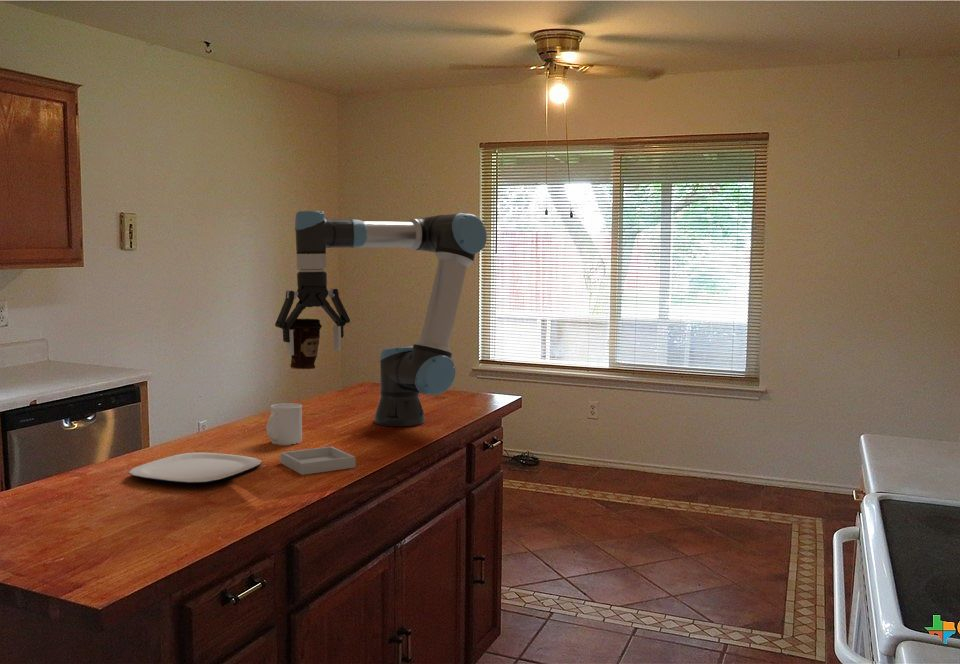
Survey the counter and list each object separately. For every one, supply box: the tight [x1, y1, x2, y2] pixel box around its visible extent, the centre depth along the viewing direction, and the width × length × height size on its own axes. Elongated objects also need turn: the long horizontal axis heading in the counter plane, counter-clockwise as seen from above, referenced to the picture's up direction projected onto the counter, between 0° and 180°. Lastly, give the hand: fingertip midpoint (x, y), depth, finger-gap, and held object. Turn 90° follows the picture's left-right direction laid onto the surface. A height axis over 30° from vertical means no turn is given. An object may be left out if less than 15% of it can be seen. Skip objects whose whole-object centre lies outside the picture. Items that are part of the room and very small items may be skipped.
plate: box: [128, 451, 263, 484], centre depth 194 cm, size 25×25×2 cm
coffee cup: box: [290, 318, 323, 370], centre depth 213 cm, size 9×8×13 cm
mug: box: [266, 402, 303, 446], centre depth 223 cm, size 12×8×10 cm
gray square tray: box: [280, 445, 356, 476], centre depth 201 cm, size 14×14×3 cm
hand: (314, 352), depth 215 cm, fingers open, 13 cm apart
